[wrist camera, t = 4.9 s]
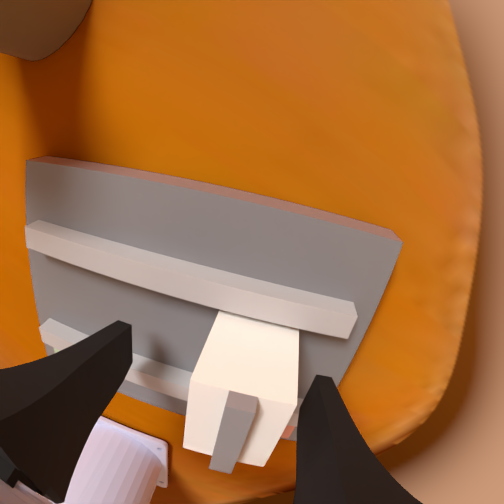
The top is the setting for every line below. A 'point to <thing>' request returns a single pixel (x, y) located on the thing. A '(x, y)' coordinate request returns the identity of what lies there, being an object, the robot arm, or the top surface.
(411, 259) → the top surface
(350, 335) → the switch panel
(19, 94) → the top surface
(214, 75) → the top surface
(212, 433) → the block
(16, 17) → the pepper mill
